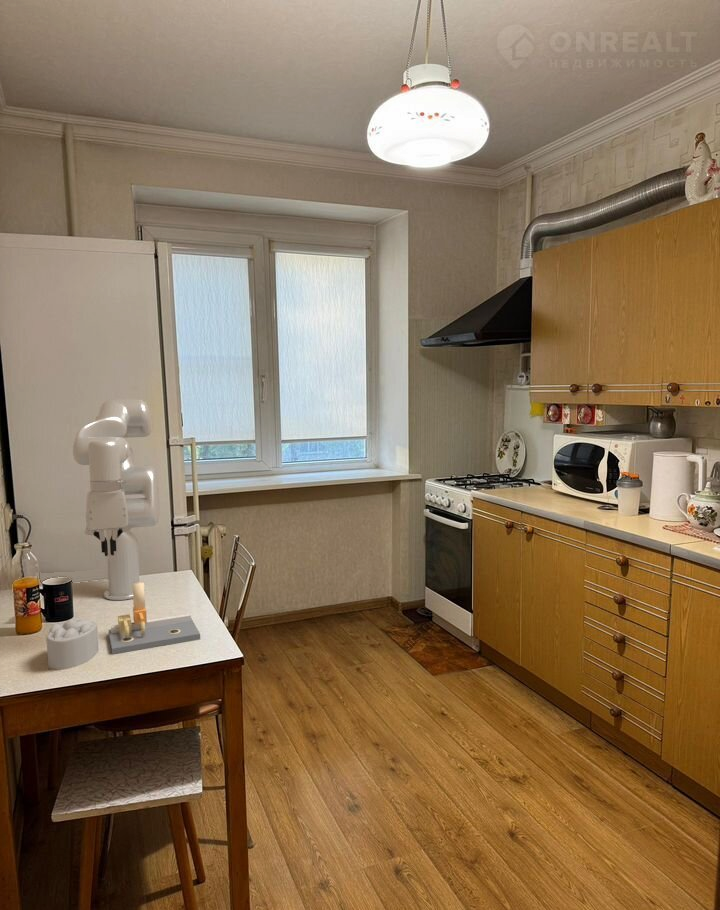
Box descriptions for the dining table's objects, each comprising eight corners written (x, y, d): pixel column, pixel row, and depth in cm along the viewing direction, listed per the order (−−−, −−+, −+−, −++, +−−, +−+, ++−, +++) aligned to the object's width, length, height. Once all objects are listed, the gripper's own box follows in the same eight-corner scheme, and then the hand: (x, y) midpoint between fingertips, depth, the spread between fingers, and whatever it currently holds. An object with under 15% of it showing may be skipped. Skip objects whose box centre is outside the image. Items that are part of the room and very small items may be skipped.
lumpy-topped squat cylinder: (103, 647, 163) (101, 615, 163) (80, 670, 151) (78, 635, 150) (64, 647, 164) (62, 615, 163) (37, 669, 151) (35, 635, 150)
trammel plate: (108, 635, 172) (107, 617, 171) (190, 621, 181) (190, 604, 180) (112, 654, 159) (111, 634, 159) (200, 639, 168) (199, 620, 168)
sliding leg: (133, 624, 174) (131, 582, 173) (145, 622, 175) (143, 580, 174) (137, 636, 165) (135, 592, 164) (149, 634, 167) (147, 590, 165)
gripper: (134, 482, 172) (137, 548, 174) (73, 486, 166) (77, 554, 168) (137, 486, 165) (140, 554, 167) (74, 490, 159) (78, 561, 161)
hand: (109, 554), depth 168 cm, fingers closed
